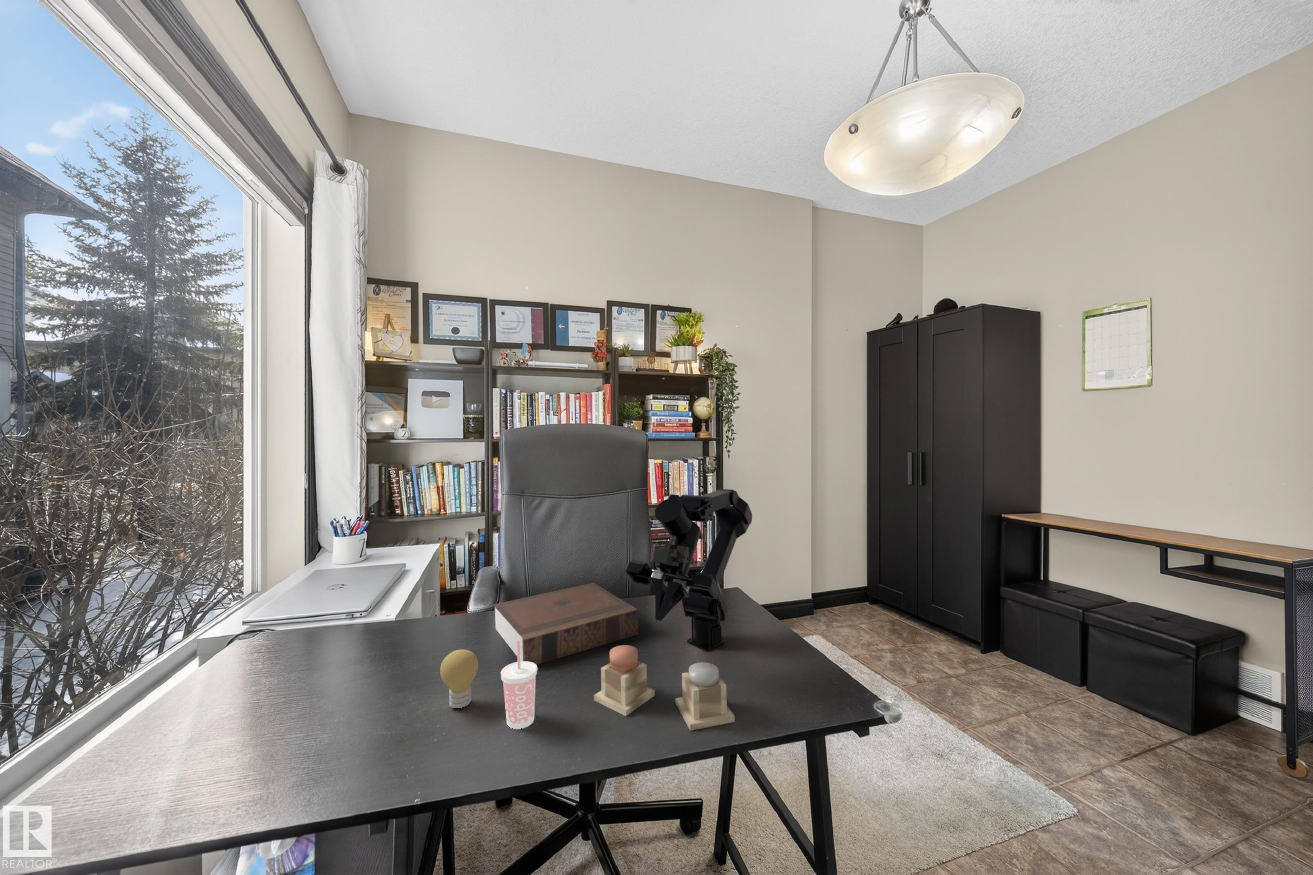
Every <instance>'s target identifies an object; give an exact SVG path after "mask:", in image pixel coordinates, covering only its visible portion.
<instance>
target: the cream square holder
mask: <svg viewBox="0 0 1313 875" xmlns="http://www.w3.org/2000/svg"><path fill="white" fill-rule="evenodd" d="M647 670H648V666H647V664H646V663H643V662H641V661H639V660H638V661H637V667H635V668H634V669H632V670H630V671H629V672H627V673H626V674H623V673H621V672H618V671H616V670H614V669H611V663H610V662H609V663H607V664H605V665H604V666H602V667H600V683H601V690H599V691H598V692H597V693H595V694H594V695H593V701H594V702H596V703H598V704H600V705H602V706H604V707H607V708H609V709H610V710H613V711H615V712H617V713H619V714H620V715H623V716H624V717H627V716H628V715H630V714H631V713H633V712H634V711H635V710H636V709H639V707H641V706H642V705H644V704H645V703H646V702H648V701H649V700H650V699H652V698H653V697H655V695H656V694H655V693H656V692H655V689H653V688H651V687H648V677H647V676H648V671H647Z"/></svg>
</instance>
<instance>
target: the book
mask: <svg viewBox="0 0 1313 875" xmlns="http://www.w3.org/2000/svg"><path fill="white" fill-rule="evenodd" d="M492 606H494V613H495V614H494V615H495V616H494V617H495V618H494V619H495V622H494V623H495V630H496V631H497V632H498V634H499V635H500V636H501V637H502V639H503V640H504V641H505V643H506V644H507V645H508V648H509V647H510V649H511V650H512V651H513V653H514V655H515V656H517V641H520V661H528V662H533V663H534V664H536V665H537V666H538V665H540V664H544V663H547V662H550V661H554V660H556V659H560V658H564V657H567V656H570V655H575V654H577V653H580V652H583V651H587V650H590V649H593V648H597V647H600V646H603V645H607V644H610V643H613V642H618V641H620V640H623V639H627V638H630V637H634V636H636V635H639V612H638V611H639V609H638V608H636V607H634V606H633V605H631V604H629V603H628V602H626V601H624V599H623V600H622V599H621V598H620V597H618V596H616V595H615V594H613V593H611V592H610V591H608V590H606V589H604V588H603V587H601V586H599V585H598V584H596V583H595V582H591V583H586V584H581V585H577V586H571V587H567V588H562V589H559V590H554V591H553V590H552V591H549V592H543V593H540V594H535V595H531V596H527V597H522V598H516V599H512V600H508V601H504V602H498V603H493V604H492Z"/></svg>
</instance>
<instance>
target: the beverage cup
mask: <svg viewBox="0 0 1313 875" xmlns="http://www.w3.org/2000/svg"><path fill="white" fill-rule="evenodd" d="M516 658H517V661H516V662H515V661H514V662H512V663H509V664H507V665H505V667H502V669H501V670H500V679H501V681H502V683H503V684H502V685H503V698H504V707H505V716H506V718H505V719H506V726H507V725H508V726H509V727H510V728H509V727H508V726H507V727H508V728H509V729H512V728H513V729H512V730H521V728H522V729H526V728H527V727H530V725H532V724H533V723H534V720H535V708H536V706H535V705H536V679H537V678H536V676H537V674H538V664H537V665H536V664H534V663H533V662H528V661H520V641H517V655H516Z"/></svg>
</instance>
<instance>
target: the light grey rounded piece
mask: <svg viewBox="0 0 1313 875" xmlns="http://www.w3.org/2000/svg"><path fill="white" fill-rule="evenodd" d="M688 672H689V681H690V682H691V683H692V684H694V685H696V686H697V687H699V686H700V687H709V686H713V685H715V684H716V683H717V682H718V680H719V676H720V675H719V674H720V673H719V668H718V667H717V666H716V665H715V664H713V663H709V662H696V663H693V664H691V665H690V666H688Z"/></svg>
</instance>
